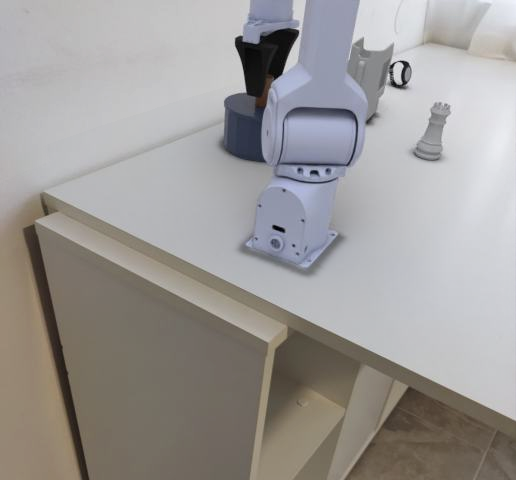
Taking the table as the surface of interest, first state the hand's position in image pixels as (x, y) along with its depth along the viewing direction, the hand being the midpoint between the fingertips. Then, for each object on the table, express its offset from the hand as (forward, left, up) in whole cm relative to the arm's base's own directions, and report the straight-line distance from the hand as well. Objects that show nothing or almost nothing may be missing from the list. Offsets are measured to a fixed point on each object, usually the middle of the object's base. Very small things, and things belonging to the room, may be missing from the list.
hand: (263, 89), depth 78 cm
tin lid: (0, 0, -3) cm, 3 cm away
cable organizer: (+27, -7, -9) cm, 29 cm away
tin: (0, 0, -9) cm, 9 cm away
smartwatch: (+51, -7, -9) cm, 52 cm away
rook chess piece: (+16, -23, -9) cm, 29 cm away
